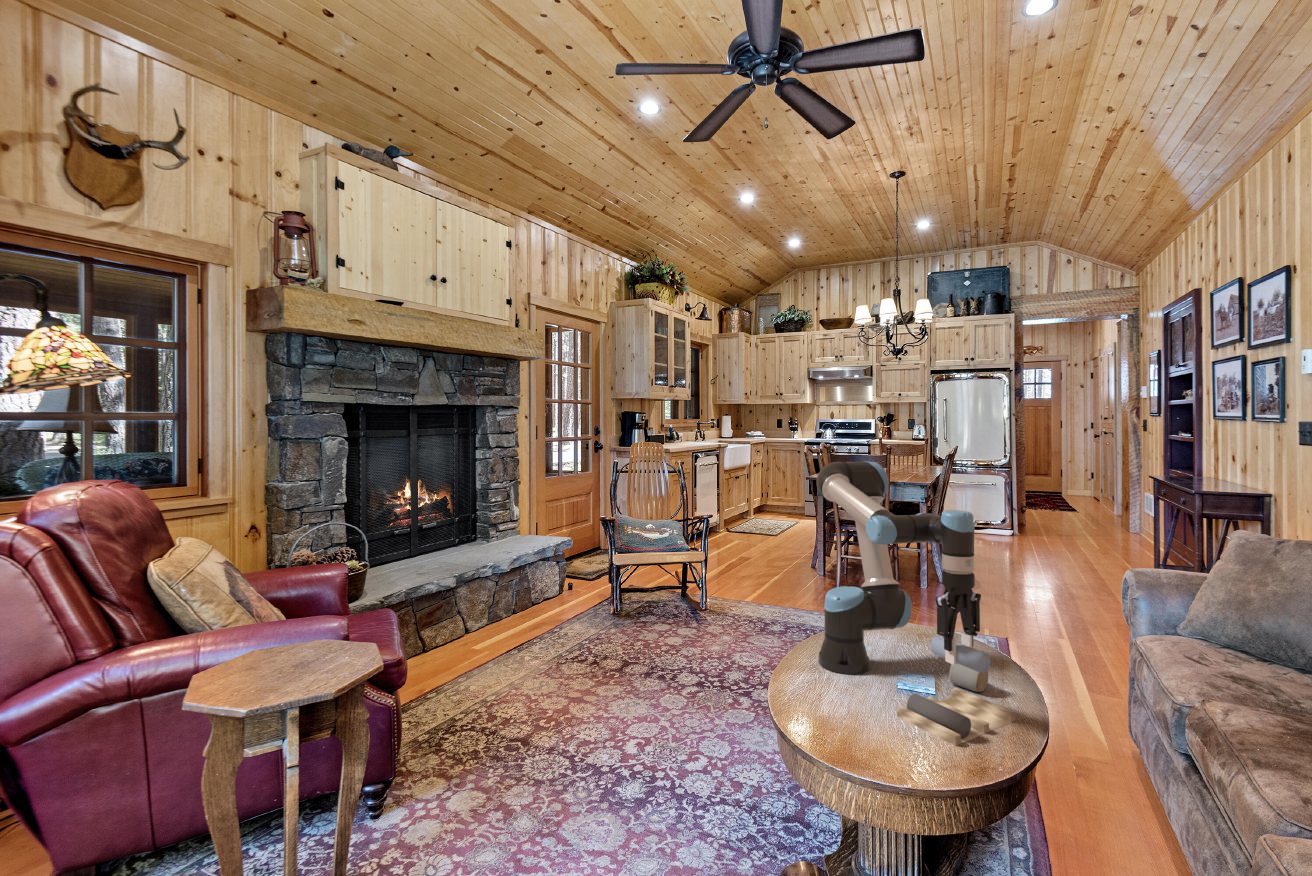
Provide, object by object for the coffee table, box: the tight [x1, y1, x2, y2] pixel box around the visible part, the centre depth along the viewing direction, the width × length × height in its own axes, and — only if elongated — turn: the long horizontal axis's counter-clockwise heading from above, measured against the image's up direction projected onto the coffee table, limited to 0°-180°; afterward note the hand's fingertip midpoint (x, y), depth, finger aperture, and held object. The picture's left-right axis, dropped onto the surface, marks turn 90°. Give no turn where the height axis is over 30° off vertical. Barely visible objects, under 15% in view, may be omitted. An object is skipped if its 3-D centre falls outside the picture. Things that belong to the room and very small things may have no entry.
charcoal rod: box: [906, 693, 971, 738], centre depth 146 cm, size 14×5×5 cm, turn 29°
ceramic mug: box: [949, 663, 989, 693], centre depth 169 cm, size 11×8×8 cm
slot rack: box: [896, 687, 1016, 747], centre depth 150 cm, size 16×24×3 cm, turn 119°
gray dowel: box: [930, 635, 992, 673], centre depth 153 cm, size 14×5×5 cm, turn 21°
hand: (958, 661), depth 153 cm, fingers closed on gray dowel, 5 cm apart
